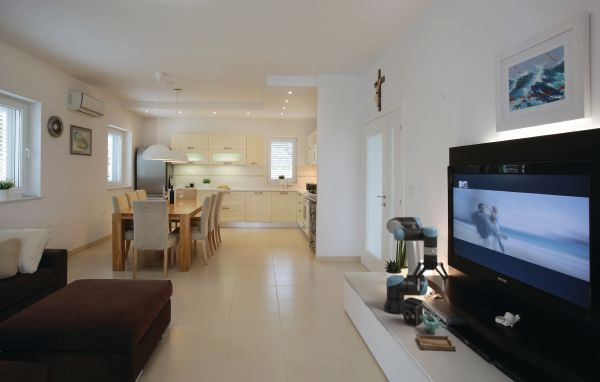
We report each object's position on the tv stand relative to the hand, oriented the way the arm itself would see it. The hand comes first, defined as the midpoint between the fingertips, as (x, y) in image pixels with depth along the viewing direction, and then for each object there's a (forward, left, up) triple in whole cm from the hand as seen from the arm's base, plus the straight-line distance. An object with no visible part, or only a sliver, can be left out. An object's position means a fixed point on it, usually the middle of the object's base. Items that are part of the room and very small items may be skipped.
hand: (430, 290), depth 205 cm
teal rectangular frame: (0, 0, -20) cm, 20 cm away
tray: (+15, -1, -25) cm, 29 cm away
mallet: (0, 0, -25) cm, 25 cm away
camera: (-13, -8, -25) cm, 30 cm away
